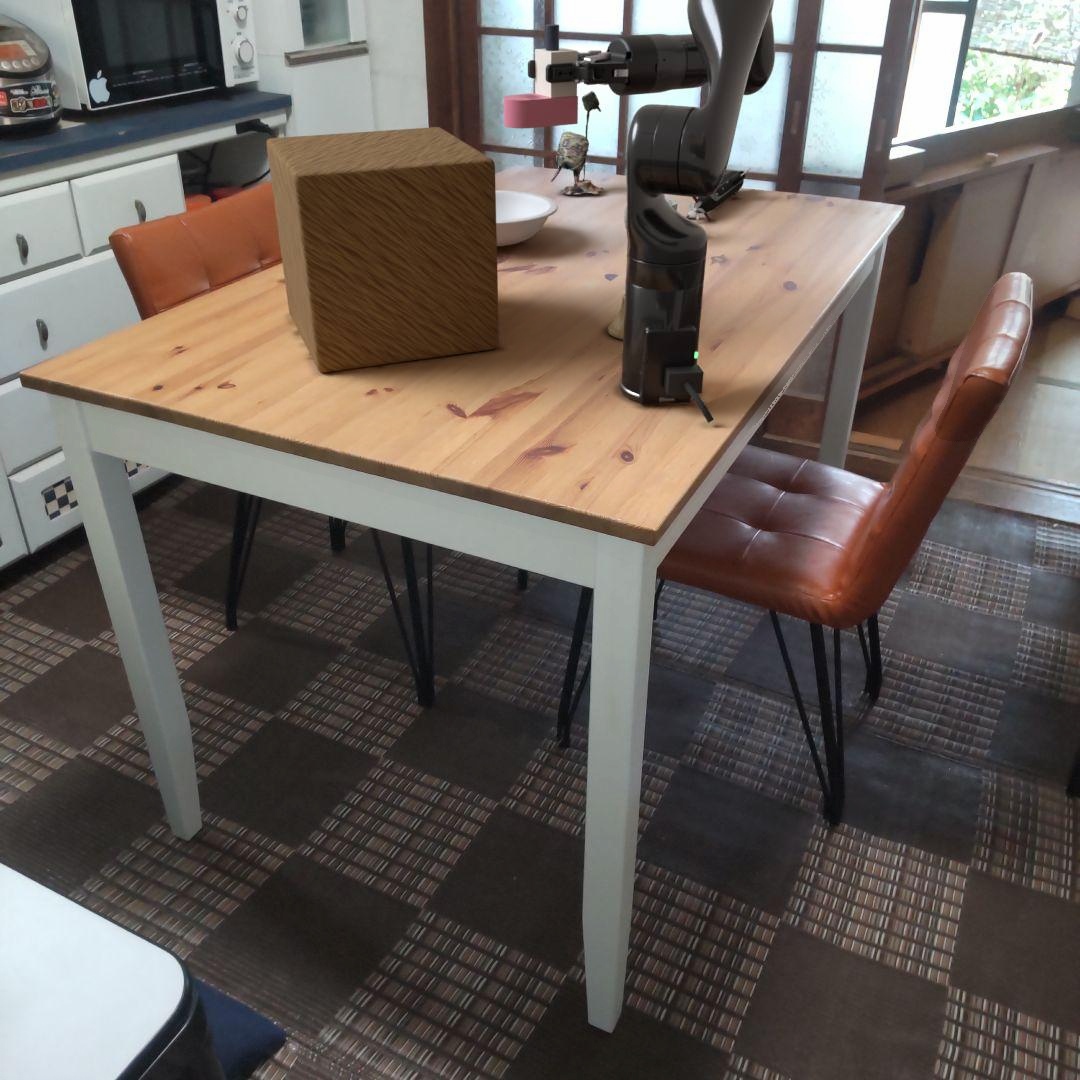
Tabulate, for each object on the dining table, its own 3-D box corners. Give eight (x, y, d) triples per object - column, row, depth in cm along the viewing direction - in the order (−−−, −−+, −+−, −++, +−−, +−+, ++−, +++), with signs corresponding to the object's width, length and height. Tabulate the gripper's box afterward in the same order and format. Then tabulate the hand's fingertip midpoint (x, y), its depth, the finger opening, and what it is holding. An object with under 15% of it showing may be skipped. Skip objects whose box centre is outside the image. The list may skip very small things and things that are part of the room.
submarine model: (690, 236, 197) (731, 205, 191) (670, 207, 196) (711, 175, 190) (733, 201, 221) (770, 173, 215) (715, 175, 220) (752, 146, 214)
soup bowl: (399, 241, 185) (396, 204, 182) (500, 218, 199) (499, 183, 195) (481, 270, 170) (480, 230, 167) (584, 243, 184) (585, 206, 180)
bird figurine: (561, 186, 223) (562, 87, 212) (608, 191, 218) (612, 91, 208) (545, 194, 216) (545, 92, 206) (594, 199, 212) (596, 96, 202)
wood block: (288, 314, 151) (264, 137, 138) (449, 295, 159) (441, 125, 146) (318, 375, 132) (293, 175, 118) (500, 349, 139) (496, 159, 126)
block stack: (559, 118, 142) (560, 22, 136) (577, 123, 138) (579, 25, 132) (497, 123, 138) (495, 25, 132) (514, 129, 134) (513, 28, 128)
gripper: (619, 30, 145) (513, 35, 138) (676, 39, 134) (564, 45, 127) (617, 87, 149) (514, 95, 142) (673, 100, 138) (563, 109, 131)
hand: (538, 71), depth 135 cm, fingers closed on block stack, 4 cm apart
